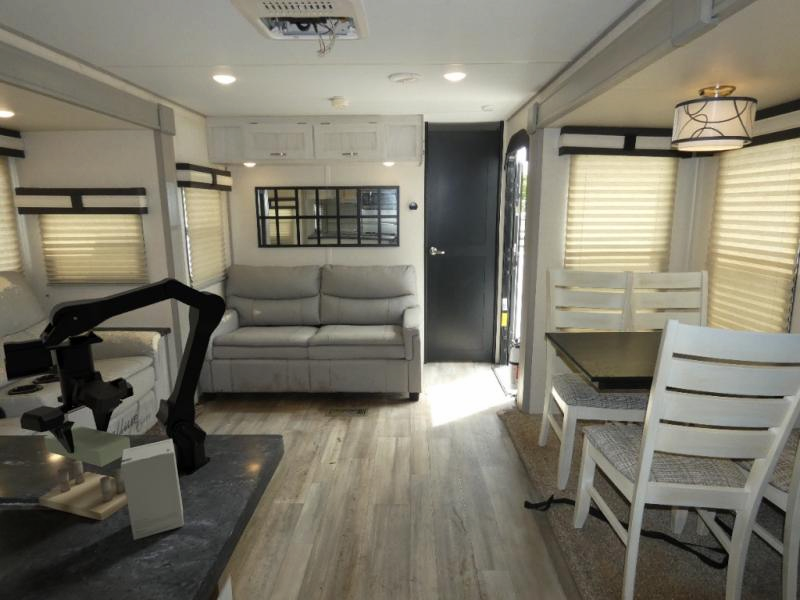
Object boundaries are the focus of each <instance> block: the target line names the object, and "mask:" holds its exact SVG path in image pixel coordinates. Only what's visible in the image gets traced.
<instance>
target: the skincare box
mask: <svg viewBox="0 0 800 600" xmlns="http://www.w3.org/2000/svg"><path fill="white" fill-rule="evenodd" d="M120 468H121V470H122V475H123V481H124V487H125V493H126V498H127V504H126V505H127V508H128V515H129V519H130V520H129V521H130V526H131V532H132V537H133V540H134V541H136V540H139V539H142V538H146V537H150V536H153V535H156V534H160V533H163V532H166V531H171V530H174V529H177V528H180V527H183V526H184V524H185V523H184V508H183V500H182V495H181V494H182V493H181V487H180V482H179V481H180V480H179V474H178V471H177V465H176V458H175V451H174V446H173V440H172V439H170V438H169V439H164V440H161V441H157V442H152V443H146V444H143V445H137V446H134V447H130V448H128V449H124V450H123V456H122V457H121V462H120Z"/></svg>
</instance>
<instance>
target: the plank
mask: <svg viewBox="0 0 800 600" xmlns="http://www.w3.org/2000/svg"><path fill="white" fill-rule="evenodd" d="M71 431H72V437H73V443H74V453H72V454H71V453H68V452H67V451H66V449H65V448H64V447H63V446H62V444H61V443H60V442H59V441H58V440H57V438H56V437H55V436H54V435H53V434H52V433H50V434H48V435H45V436H43V438H44V440H43V441H44V445H45V451H46V452H48V453H52V454H54V455H57V456H61V457H64V458H65V457H66V458H69V459H73V460H75V461H77V460H79V461H82V463H86V464H91V465H94V466H98V467H101V468H102V467H105V466H106V465H108V464H110V463H111V462H113V461H114V462H115V460H118V459H119V458H122V456H123V450H124V449H128V448H131V441H130V437H129V436H125V435H121V434H118V433H117V434H116V433H112V432H108V431H107V432H104V431H100V430H97V429H95V428H91V427H86V426H83V425H78V424H73V426H72V428H71Z"/></svg>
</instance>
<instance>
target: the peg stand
mask: <svg viewBox="0 0 800 600" xmlns="http://www.w3.org/2000/svg"><path fill="white" fill-rule="evenodd" d="M72 469H73V476H74V478H73V479H71V480H70V476H69V474H70V473H69V469H68V467H67V466H65V467H60V468H58V469H57V474H58V481H59V482H58V483H59V486H58V487H57V488H55V489H52V490H50V491H49V492H48V493H45V494H44V495H41V496H40V497H38V500H39V502H38V503H39V505H40V506H42V507H45V508H50V509H55V510H58V511H61V512H67V513H71V514H74V515H78V516H83V517H86V518H90V519H95V520H98V521H103V520H105V519H107V518H108V517H109V516H111V515H113V514H114V513H116V512H117V511H119V510H121V508H123V507H125V506H126V505H128V504H127V498H126V493H125V487H124V481H123V475H122V470H121V467H119V468H116V469H115V470H113V474H114V475H113V476H114V477H113V476H109V475H103V474H99V473H94V472H89V471H86V472H84V466H83V461H79V460H74V461H72Z"/></svg>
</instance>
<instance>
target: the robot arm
mask: <svg viewBox="0 0 800 600" xmlns="http://www.w3.org/2000/svg"><path fill="white" fill-rule="evenodd" d="M171 299H172V300H173V299H174V300H176V301H178V302H180V303H182V304H185V305H187V306H188V323H189V324H188V326H189V331H188V335H187V339H186V342H185V344H184V345H185V346H184V349H183V354H182V356H181V360H180V365H179V367H178V372H177V375H176V379H175V382H174V387H173V390H172V393H171V394H170V395H169V396H168V398H167V399H163V398H160V400H159V404H158V405H159V407H158V411H157V412H156V414H155V415H154V416H155V418H156V419H157V424H158V427H159V428H160V429H161V431H162V432H163V433H164V434H165V436H167V438H169V439H172V440H173V446H174V451H175V458H176V465H177V472H181V473H186V474H193V473H194V472H196V471H197V470H199V469H200V468H202V467H203V466H205V464H207V463H209V462H210V461H212V457H210V456H206V448H205V440H206V437H207V432H206V430H204V429H203V428H202V427H201V426H200V425H199V424H198V423H197V422H196V421H195V420H196V403H195V396H196V393H197V389H198V385H199V381H200V377H201V373H202V370H203V367H204V363H205V359H206V355H207V352H208V348H209V344H210V340H211V336H213V333H214V332H215V330H217V328H218V327H219V326H220V323H221V321H222V320H223V317H224V315H225V313H226V310H227V302H226V301H225V299H224V298H223V297H222V296H221V295H219V294H216V293H213V292H210V291H207V290H201V291H200V290H198V289H196V288H194V287H191V286H189V285H187V284H186V283H185V284H184V283H183V282H182V281H180V280H179V279H176V278H173V277H165V278H163V279H161V280H159V281H155V282H152V283H148V284H145V285H142V286H138V287H134V288H131V289H127V290H124V291H121V292H117V293H114V294H110V295H107V296H104V297H97V298H83V299H75V300H69V301H62V302H60V303H57V304H56V305H54V306H53V307H52V309H51V310H50V312H49V314H48V315H49V316H48V319H49V321H48V323H47V325H46V327H45V328H44V329H43V331H41V333H40V335H39V338H35V339H29V340H27V339H26V340H20V341H13V340H12V341H7V342H3V343H2V346H3V352H4V358H3V362H4V368H5V373H6V374H5V375H6V379H7V382H13V381H18V380H19V381H20V380H23V379H29V378H30V379H31V378H34V377H40V376H45V375H47V373H48V372H50V371H51V369H53V368H54V360H53V356H52V351H54V352H55V353H54V354H55V358H56V360H55V361H56V366H57V372H58V374H57V375H54V376H53V378H54V382H57V383H59V385H60V386H59V388H60V392H61V393H60V394H61V395H59V396H57V397H56V398H57V403H62V405H60V406H57V407H53V406H48V405H47V406H46V405H41V406H39V407H36V408H34V409H30V410H27V411H25V412H23V413H22V415H21V417H20V419H19V422H20V428H21V429H23V430H26V431H27V430H28V431H32V432H39V433H44V432H45V433H46V432H48V431H49V432H50V434H53V435H54V436H55V437H56V438H57V440H58V441H59V442H60V443H61V444H62V446H63V447H64V448H65V449H66V451H67V452H68V453H71V454H72V453H74V443H73V437H72V431H71V428H72V426H73V425H75V421H71V420H69V416H68V415H70V414H72V413H75V412H77V411H79V410H82V409H84V408H88V409H89V410H91V412H92V416H93V421H94V424H95V428H96V430H100V431H104V432H108V429H109V425H110V422H111V418H112V415H113V413H114V411H115V409H117V408H118V407H119V406H120V405H122V404H123V403H124V400H125V399H129V398H131V397H132V396H134V394H135V393H134V392H135V391H134V386H133V385H132V384H131V383H130V382H128V381H127V379H125V378H123V377H118V378H116V379H113V380H109V381H108V380H107V381H104V379H103V377H102V376H103V375H102V373H101V372H100V370H96V368H95V361H94V355H93V346H92V345H94V344H100V343H103V342H104V338H102V337H101V336H100V335H99V334H96V333H95V332H94V330H92V329H94V328H97V327H98V326H99V325H101V324H103V323H104V322H106V321H107V320H110V319H112V318H113V317H116V316H120V315H123V314H125V313H130V312H133V311H135V310H139V309H142V308H145V307H148V306H151V305H154V304H158V303H161V302H164V301H168V300H171Z"/></svg>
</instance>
